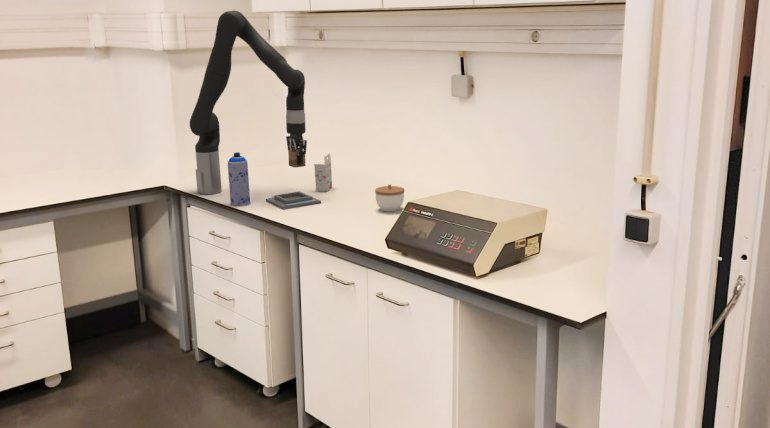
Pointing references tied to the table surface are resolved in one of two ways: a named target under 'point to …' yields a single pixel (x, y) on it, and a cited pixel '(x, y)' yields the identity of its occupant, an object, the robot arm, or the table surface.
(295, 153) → the block
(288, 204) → the holder
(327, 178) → the ink cartridge box
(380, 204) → the lidded jar
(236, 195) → the aerosol can
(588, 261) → the table surface
